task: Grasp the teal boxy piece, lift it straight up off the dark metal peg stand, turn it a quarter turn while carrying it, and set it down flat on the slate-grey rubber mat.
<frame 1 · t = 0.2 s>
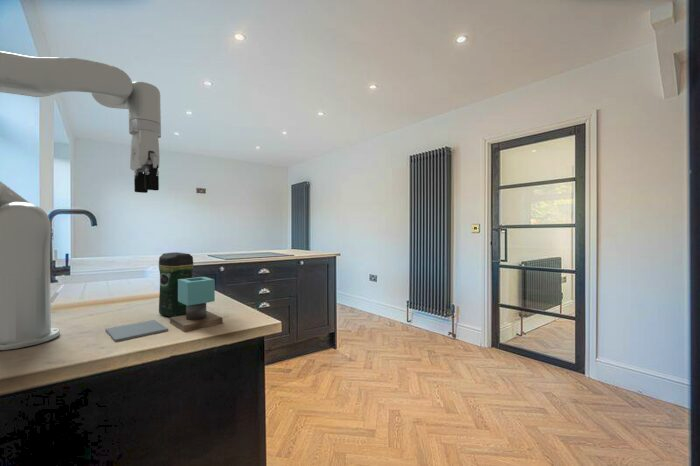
hand: (146, 191, 90), 36 cm above the counter, tool pointing down, fingers open, 9 cm apart
mat: (136, 330, 81), on the counter
coffee jar: (176, 314, 97), on the counter
teal boxy piece: (196, 301, 87), point 6 cm above the counter, touching peg stand
peg stand: (196, 323, 87), on the counter
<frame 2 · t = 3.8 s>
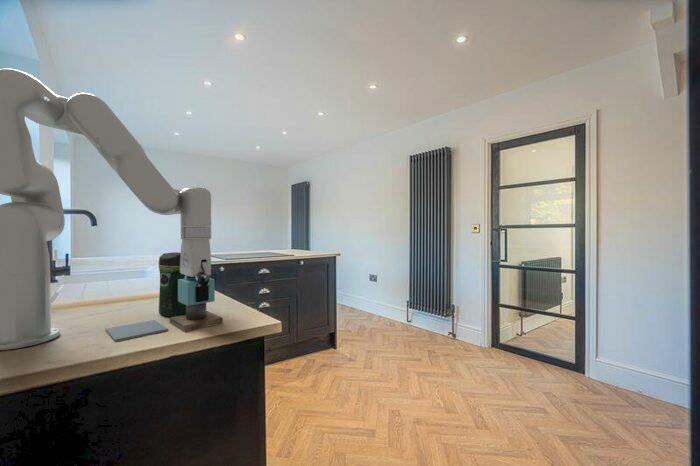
hand: (196, 298, 87), 7 cm above the counter, tool pointing down, fingers closed on teal boxy piece, 7 cm apart
teal boxy piece: (196, 301, 87), point 6 cm above the counter, touching gripper, peg stand
everything else where it was.
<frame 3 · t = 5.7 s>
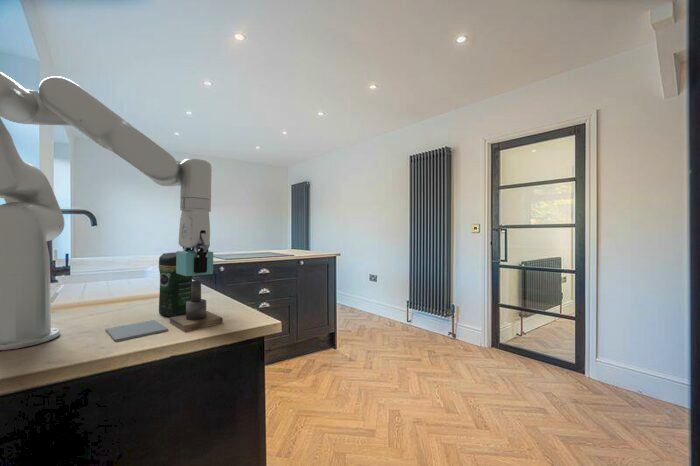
hand: (194, 270, 87), 14 cm above the counter, tool pointing down, fingers closed on teal boxy piece, 7 cm apart
teal boxy piece: (194, 273, 87), point 14 cm above the counter, touching gripper
everything else where it was.
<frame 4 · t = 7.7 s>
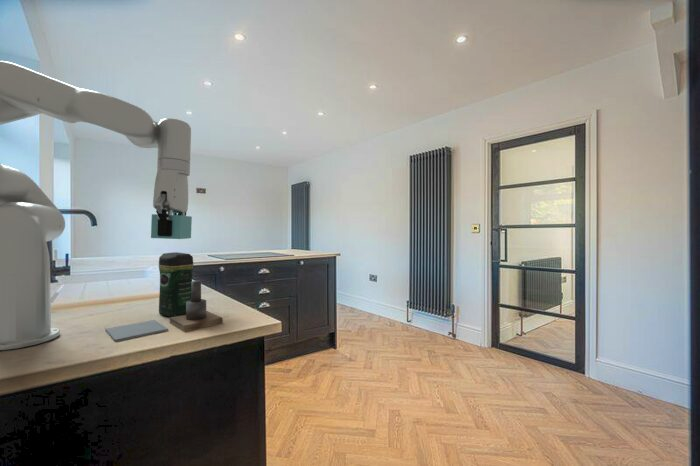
hand: (171, 235, 84), 24 cm above the counter, tool pointing down, fingers closed on teal boxy piece, 7 cm apart
teal boxy piece: (171, 238, 84), point 23 cm above the counter, touching gripper
everything else where it was.
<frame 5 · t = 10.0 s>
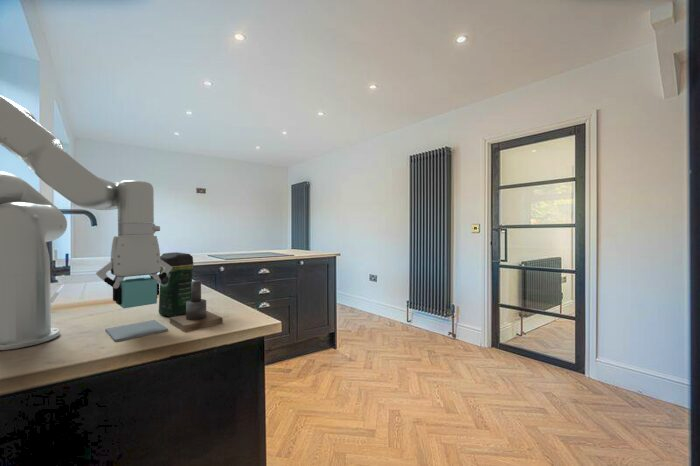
hand: (136, 300, 80), 8 cm above the counter, tool pointing down, fingers closed on teal boxy piece, 7 cm apart
teal boxy piece: (137, 303, 80), point 7 cm above the counter, touching gripper
everything else where it was.
when the fingers open (3 cm above the counter, at t = 12.0 s): teal boxy piece drops 1 cm, resting on mat.
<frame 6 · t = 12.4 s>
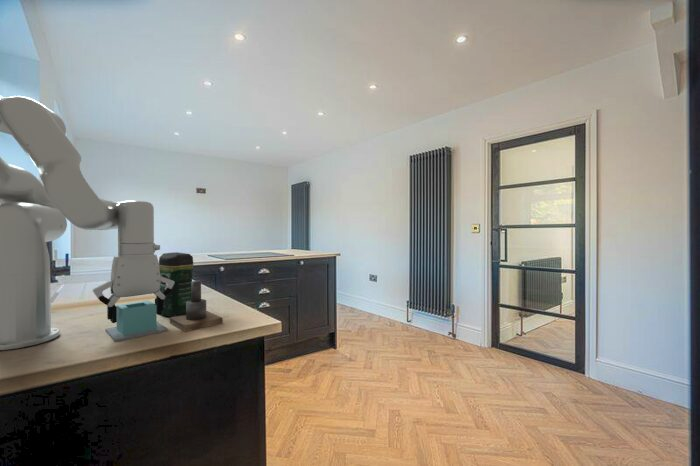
hand: (136, 317, 81), 3 cm above the counter, tool pointing down, fingers open, 9 cm apart
teal boxy piece: (136, 328, 81), resting on mat
everything else where it was.
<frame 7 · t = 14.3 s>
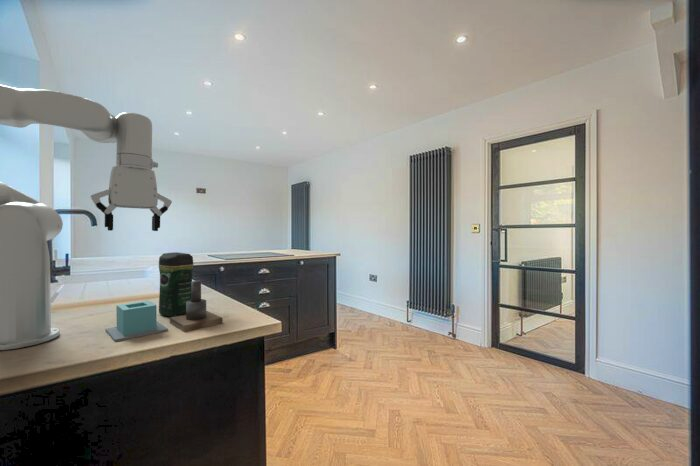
hand: (133, 230, 82), 25 cm above the counter, tool pointing down, fingers open, 9 cm apart
nothing on the counter moved.
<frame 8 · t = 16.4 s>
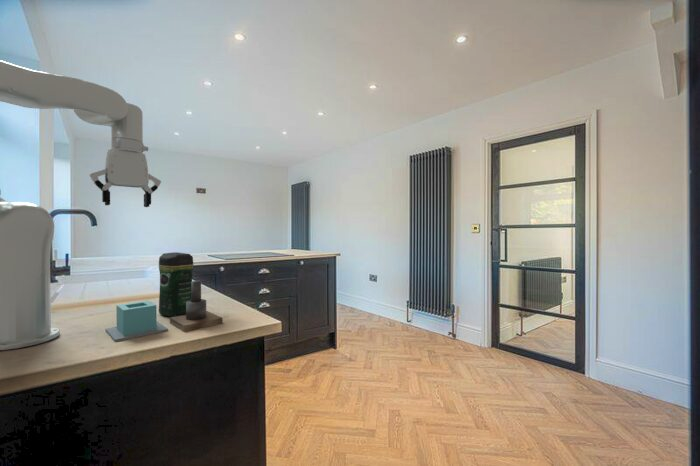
hand: (127, 206, 94), 32 cm above the counter, tool pointing down, fingers open, 9 cm apart
nothing on the counter moved.
at the end: teal boxy piece inside the target area on the mat (0.0 cm from its centre), point 0.5 cm above the mat's base; teal boxy piece tilted 0°; the gripper is holding nothing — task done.
